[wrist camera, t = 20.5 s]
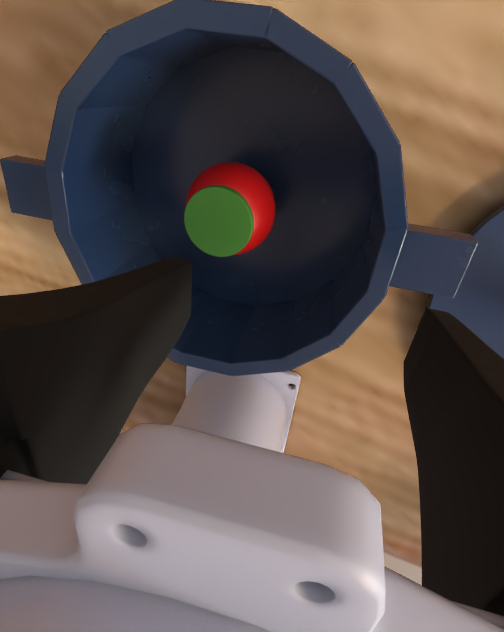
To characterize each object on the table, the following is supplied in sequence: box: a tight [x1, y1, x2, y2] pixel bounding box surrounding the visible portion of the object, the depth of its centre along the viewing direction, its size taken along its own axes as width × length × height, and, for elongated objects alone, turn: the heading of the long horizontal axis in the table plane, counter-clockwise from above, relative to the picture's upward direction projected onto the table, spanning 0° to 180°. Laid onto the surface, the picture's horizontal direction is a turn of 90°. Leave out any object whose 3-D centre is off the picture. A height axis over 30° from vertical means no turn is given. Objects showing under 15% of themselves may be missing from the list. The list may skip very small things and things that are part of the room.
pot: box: [0, 0, 478, 376], centre depth 18 cm, size 15×20×6 cm
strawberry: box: [184, 162, 276, 257], centre depth 18 cm, size 4×4×5 cm
